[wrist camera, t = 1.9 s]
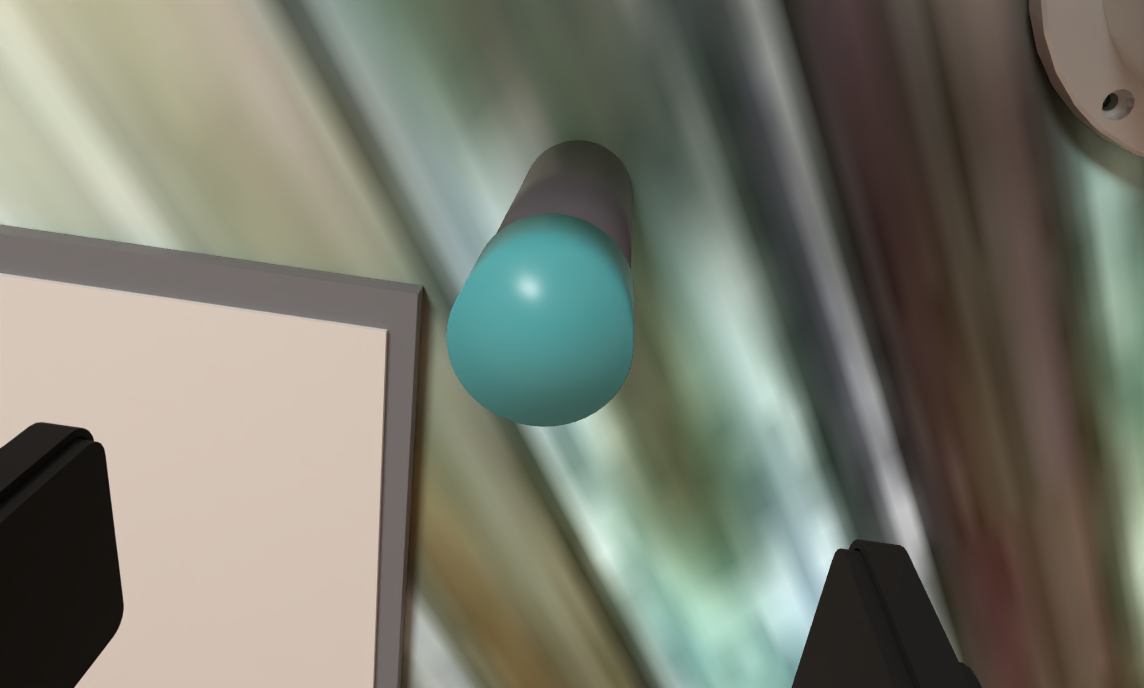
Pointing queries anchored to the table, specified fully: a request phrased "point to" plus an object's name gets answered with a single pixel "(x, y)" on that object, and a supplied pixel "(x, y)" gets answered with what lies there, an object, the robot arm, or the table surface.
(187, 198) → the table surface
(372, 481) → the notepad
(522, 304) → the marker
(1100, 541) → the table surface
